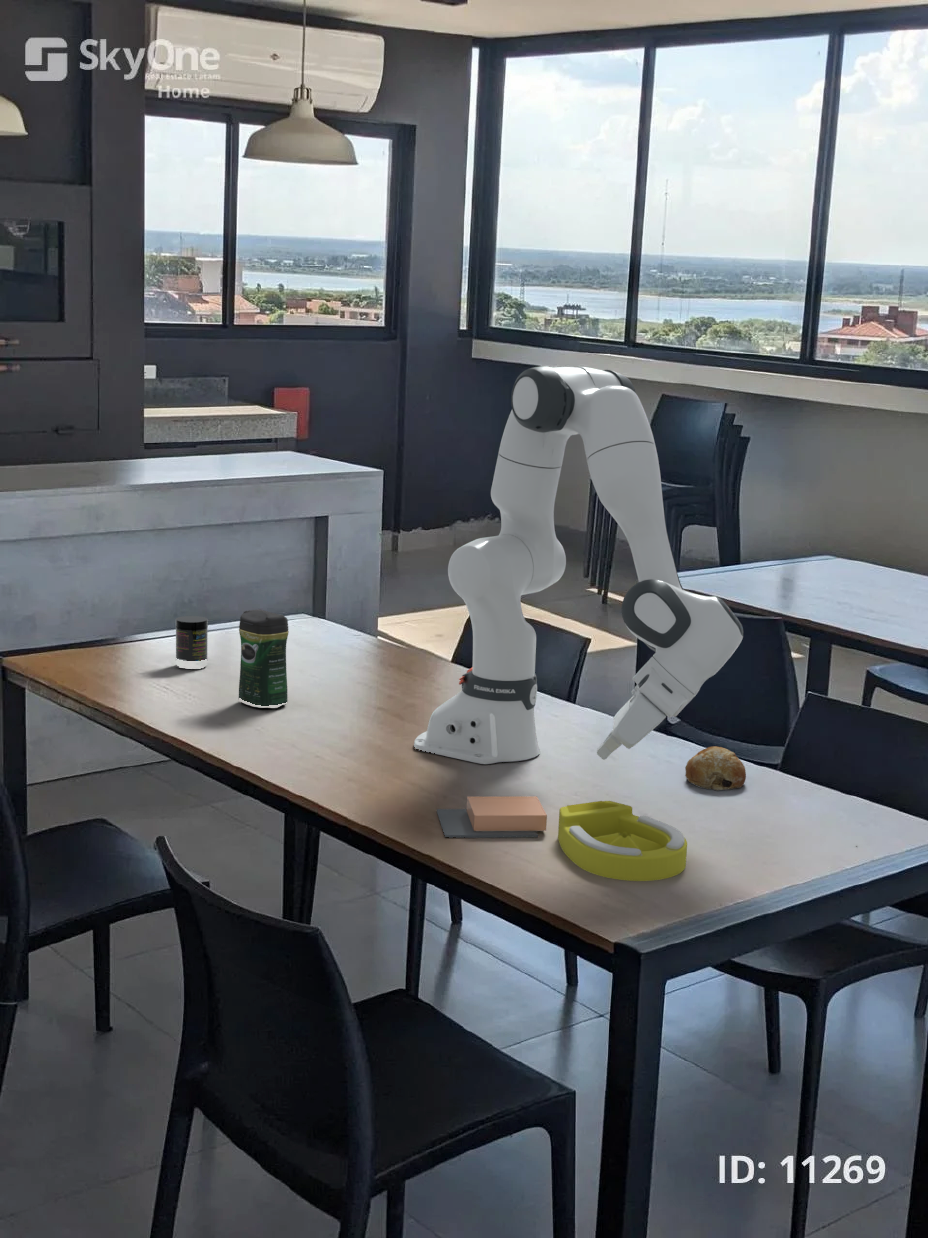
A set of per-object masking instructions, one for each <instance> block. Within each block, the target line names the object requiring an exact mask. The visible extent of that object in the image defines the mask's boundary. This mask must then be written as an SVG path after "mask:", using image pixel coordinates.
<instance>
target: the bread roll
mask: <svg viewBox="0 0 928 1238" xmlns="http://www.w3.org/2000/svg"><path fill="white" fill-rule="evenodd" d="M684 768H685V775H684V776H685V778H686V779H687V780H688V782H689V783H690V784H692V785H694V786H696V787H699V788H701V789H705V790H713V791H715V792H716V791H717V792H718V791H726V790H729V791H730V790H733V789H734V790H735V789H741V788H742V787H743V786H744V784H745V782H746V778H747V771H746V767H745V765H744V763H743V762H742V761H741V760H740V759H739V757H738V756H737V755H736V753H735V752H734V751H731V750H730V749H727V748H725V747H722V746H716V745H715V746H714V745H713V746H708V747H706V748H704V749H701V750H700V751H698V752H697V753H696V754H695V755H693V756H692V757H691V758H690V759H688V761H687V762H686V765H685V767H684Z"/></svg>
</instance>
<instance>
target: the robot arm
mask: <svg viewBox="0 0 928 1238" xmlns="http://www.w3.org/2000/svg"><path fill="white" fill-rule="evenodd" d="M510 396H511V397H510V406H511V411H510V413H509V415H508V418H507V421H506V424H505V427H504V430H503V433H502V437H501V441H500V444H499V448H498V454H497V459H496V464H495V467H494V468H495V469H494V474H493V480H492V485H491V488H490V497H491V500H492V503H493V504H494V506H495V507H496V508H497V509H498V510H499V512H500V519H501V521H500V522H501V526H500V532H499V534H498V535H495V536H487V537H480V538H476V539H474V540H472V541H469V542H467V543H465V544H463V545H462V546H460V547H458V548H457V549H456V550H454V552H453V553H452V554H451V555H450V558H449V561H448V565H447V575H448V580H449V583H450V586H451V587H452V589H453V591H454V592H455V593H456V594H457V595H458V596H459V597H460V598H461V599H462V600H463V602H464V604H465V606H466V608H467V611H468V615H469V618H470V622H471V628H472V629H471V630H472V667H471V668H469V669H468V670H466V673H463V674H462V675H461V677H460V678H458V680H459V682H458V685H459V686H460V685H461V691H459V692H458V693H456V694H455V695H453V696H452V697H450V698H449V699H447V700H446V701H445V702H443V703H441V704H440V705H439V706H438V707H437V708H435V709H434V711H433V712H431V713H432V714H431V715H430V718H429V721H428V725H427V730H426V731H424V732H422V733H420V734H419V735H417V737H416V738H415V739H414V741H413V748H414V747H415V748H416V749H419V750H418V751H420V750H422V751H421V752H425V751H426V752H425V753H429V752H431V754H434V753H435V754H434V755H438V756H445V757H448V758H452V759H458V760H462V761H466V762H471V763H475V764H481V765H490V764H495V763H496V764H497V763H502V762H503V763H504V762H506V763H507V762H519V761H526V760H530V759H533V758H535V757H537V756H538V755H539V754H540V753H541V749H540V745H539V741H538V736H537V729H536V722H535V721H536V718H535V706H536V703H537V696H538V695H537V694H538V683H537V681H538V679H537V677H538V676H537V674H536V673H535V672H536V651H537V650H536V648H537V634H536V631H535V629H534V627H533V626H532V625H531V624H530V623H528V621H526V618H525V616H524V613H523V610H522V609H523V608H522V602H521V598H522V596H523V595H528V594H529V595H530V594H535V593H539V592H541V591H543V590H546V589H548V588H549V587H551V586H552V585H554V584H556V583H557V582H558V581H559V580H560V579H561V578H562V576H563V575H564V573H565V570H566V566H567V557H566V553H565V549H564V546H563V545H562V544H561V542H560V541H559V539H558V538H557V535H556V531H555V530H556V529H555V515H554V513H555V502H556V497H557V491H558V485H559V482H560V477H561V472H562V465H563V463H564V462H563V461H564V456H565V452H566V451H565V450H566V445H567V444H568V443H567V442H568V440H569V438H570V437H571V436H576V435H580V437H581V439H582V441H583V447H584V454H585V457H586V463H587V467H588V472H589V476H590V479H591V482H592V485H593V487H594V489H595V491H596V494H597V496H598V499H599V501H600V502H601V504H602V505H603V507H604V508H605V509H606V510H607V511H608V513H609V514H610V516H611V517H612V518H613V519H614V521H615V522H616V523H617V524H618V526H619V527H620V529H621V531H622V532H623V534H624V536H625V538H626V540H627V543H628V546H629V548H630V552H631V554H632V559H633V563H634V568H635V571H636V575H637V579H638V582H637V583H635V584H634V585H632V586H631V588H629V589H628V591H627V592H626V593H625V595H624V598H623V600H622V603H621V616H622V620H623V622H624V624H625V626H626V628H627V629H628V631H629V632H630V633H631V634H632V635H633V636H634V637H636V638H637V639H638V640H640V641H641V642H643V643H644V644H645V645H646V647H648V648H649V649H650V650H651V651H653V652H655V653H654V654H653V655H652V656H651V657H650V658H649V660H647V662H645V664H644V665H643V666H642V667H641V668H640V669H639V670H638V671H637V673H635V675H634V676H633V677H632V681H634V683H636V685H635V686H634V688H633V689H632V690H631V694H632V696H631V698H630V699H629V700H627V701H626V702H625V704H623V706H622V707H621V708H620V709H619V710H618V711H617V712H616V713H615V715H614V717H613V724H612V730H611V731H610V732H609V733H608V735H607V736H606V738H605V739H604V740H603V742H602V743H601V744H600V745H599V746H598V747H597V750H596V755H597V756H598V757H599V758H600V759H601V760H604V761H605V760H607V758H608V757H610V755H612V753H614V752H615V751H616V750H617V749H618V748H620V747H621V746H622V745H623V746H624V747H625V748H626V749H629V750H630V749H632V748H633V747H635V746H636V745H638V743H640V742H641V741H642V740H643V739H644V738H645V737H646V736H648V735H649V734H650V733H651V732H652V731H653V730H654V729H656V728H657V727H658V726H659V725H660V724H661V723H662V722H663V721H664V720H665V719H666V718H667V717H668V718H669V719H670V718H672V717H674V718H676V717H677V716H678V715H679V713H681V712H682V710H684V708H685V707H686V706H687V705H688V704H689V703H690V702H691V701H692V700H693V699H694V698H695V697H696V695H698V693H699V692H700V690H701V687H702V686H703V684H704V683H705V682H706V681H708V680H709V678H712V677H714V675H716V674H717V673H718V672H719V671H720V670H721V669H722V667H724V665H725V664H726V663H727V662H728V661H729V659H730V658H731V657H732V656H733V654H734V653H735V651H737V649H738V647H739V646H740V644H741V643H742V640H743V638H744V628H743V624H742V623H741V621H740V620H739V618H738V616H737V615H736V614H735V613H734V611H732V609H731V608H730V607H729V606H728V605H727V603H726V602H725V601H724V600H723V599H722V598H721V597H718V596H717V595H716V596H715V595H713V596H708V595H702V594H697V593H693V592H690V591H688V590H685V589H684V588H683V586H682V583H681V580H680V578H679V574H678V571H677V565H676V563H675V559H674V555H673V550H672V546H671V542H670V539H669V535H668V530H667V525H666V518H665V510H664V500H663V490H662V489H663V488H662V478H661V470H660V464H659V463H660V461H659V457H658V456H659V455H658V452H657V447H656V443H655V439H654V434H653V431H652V428H651V425H650V422H649V419H648V416H647V414H646V410H645V409H644V407H643V403H642V401H641V399H640V397H639V396H638V394H637V393H636V389H635V387H634V384H633V382H632V381H631V380H630V378H628V377H627V376H625V375H624V374H622V373H620V372H618V371H617V372H616V371H614V370H611V369H599V368H593V367H588V366H579V365H577V366H574V365H573V366H553V367H551V366H548V365H541V366H535V367H534V366H533V367H531V368H527V369H525V370H523V371H522V372H521V373H520V374H519V375H518V376H517V378H516V379H515V382H514V384H513V387H512V390H511V395H510ZM415 748H414V749H415ZM416 749H415V750H416Z"/></svg>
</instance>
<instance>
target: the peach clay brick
mask: <svg viewBox="0 0 928 1238" xmlns="http://www.w3.org/2000/svg"><path fill="white" fill-rule="evenodd" d="M466 809H467V814H468V816H469V819H470V822H471V824H472V827H473V830H474V831H536V832H544V831H547V822H548V821H547V819H548V815H547V812H546V811H545V809H544V807H543V804H542V803H541V801H540V799H539V798H538V796H535V795H533V796H528V795H527V796H521V795H520V796H516V795H515V796H501V795H500V796H466Z"/></svg>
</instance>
